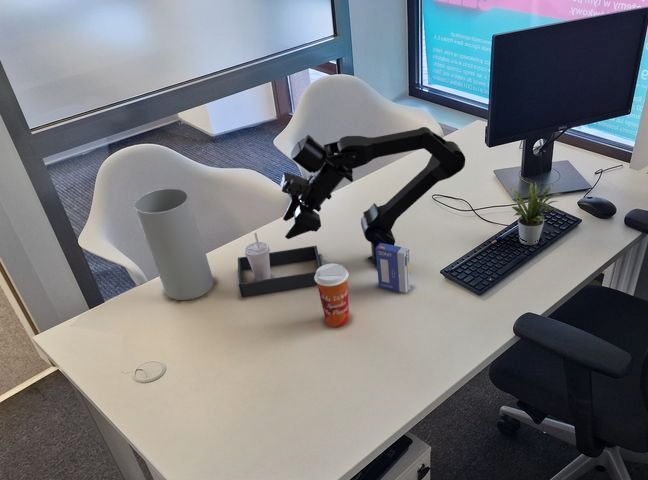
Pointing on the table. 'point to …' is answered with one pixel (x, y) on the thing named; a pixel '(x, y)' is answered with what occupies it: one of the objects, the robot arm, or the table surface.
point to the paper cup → (333, 293)
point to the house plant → (532, 215)
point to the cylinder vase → (175, 243)
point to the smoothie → (259, 259)
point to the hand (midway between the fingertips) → (285, 228)
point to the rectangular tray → (280, 282)
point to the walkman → (393, 267)
